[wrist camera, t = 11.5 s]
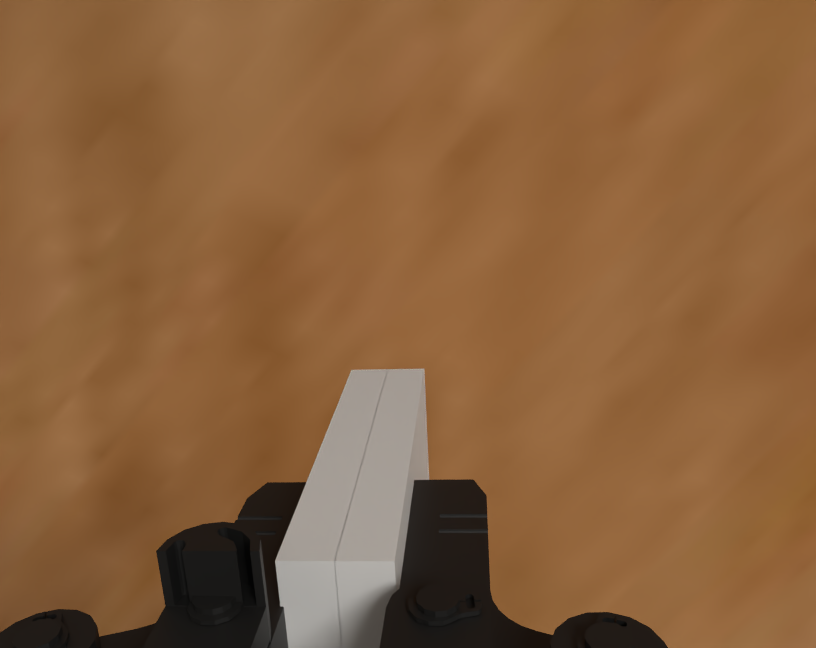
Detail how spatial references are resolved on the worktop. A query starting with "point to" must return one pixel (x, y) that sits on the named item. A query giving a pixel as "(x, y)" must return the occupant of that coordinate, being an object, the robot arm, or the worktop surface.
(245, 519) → the robot arm
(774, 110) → the worktop surface
